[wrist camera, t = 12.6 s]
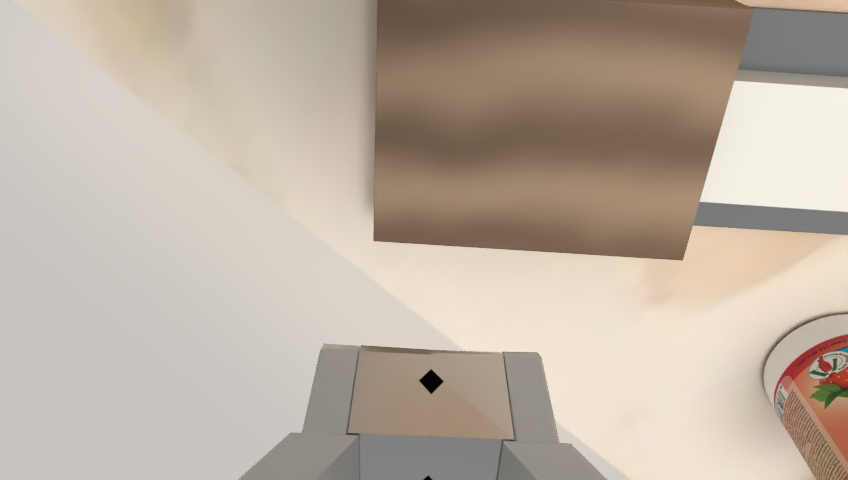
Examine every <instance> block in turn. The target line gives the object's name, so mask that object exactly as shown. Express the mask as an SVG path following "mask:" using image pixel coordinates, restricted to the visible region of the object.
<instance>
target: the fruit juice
mask: <svg viewBox="0 0 848 480" xmlns="http://www.w3.org/2000/svg"><path fill="white" fill-rule="evenodd" d="M763 379H764V387H765V391H766V393H767V396H768V398H769V401H770V403H771V405H772V406H773V408H774V410H775V411H776V413H777V415H778V416H779V418H780V420H781V421H782V423H783V425H784V426H785V428H786V430H787V431H788V433H789V435H790V436H791V438H792V440H793V441H794V443H795V445H796V446H797V448H798V450H799V451H800V453H801V455H802V456H803V458H804V460H805V461H806V463H807V465H808V466H809V468H810V470H811V471H812V473H813V475H814V476H815V478H816V480H848V314H841V315H833V316H828V317H824V318H820V319H817V320H814V321H811V322H809V323H807V324H805V325H803V326H801V327H799V328H797V329H796V330H794V331H793V332H791V333H790V334H788V335H787V336H786V337H785V338H784V339H782V340H781V341H780V342H779V343H778V345H777V346H776V347H775V348H774V349H773V351H772V352H771V354H770V356H769V357H768V359H767V362H766V365H765V368H764V376H763Z"/></svg>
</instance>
